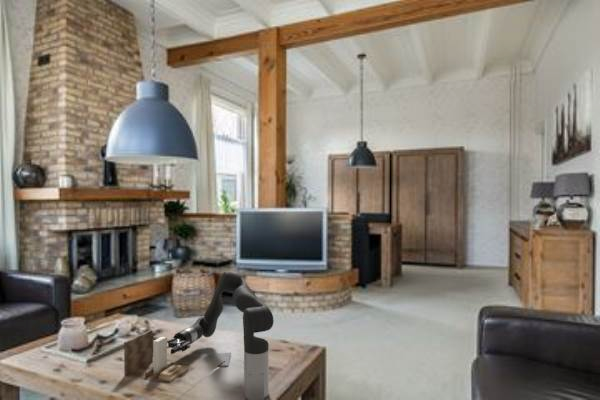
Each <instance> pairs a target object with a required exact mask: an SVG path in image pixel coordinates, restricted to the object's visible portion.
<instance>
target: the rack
mask: <svg viewBox="0 0 600 400" xmlns="http://www.w3.org/2000/svg"><path fill="white" fill-rule="evenodd" d="M153 333H154V331H153V329H150V330H148V331H145V332H143V333H140V334H139V335H137V336H135V337H133V338H130V339H129V340H127V341H124V342H123V349H124V350H123V353H124V355H123V356H124V357H123V358H124V363H123V366H124V367H123V368H124V373H123V374H124V377H128V378H134V379H138V380H142V381H143V380H144V381H149V382H150V381H151V382H154V383H155V382H156V383H161V384H164V385H165V384H166V385H173V384H175V382H177V381H178V380H180V379H182V377H184V376H185V375H186V374H189V373H190V372H191V371H192V370H193V369H195V368H194V367H190V366H188V365H187V366H186V365H181V364H175V361H174V362H173V361H172V362H170V363H167V366H165V367H164V368H162V369H161V370H159V371H157V372H156V373H154V374H153Z"/></svg>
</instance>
